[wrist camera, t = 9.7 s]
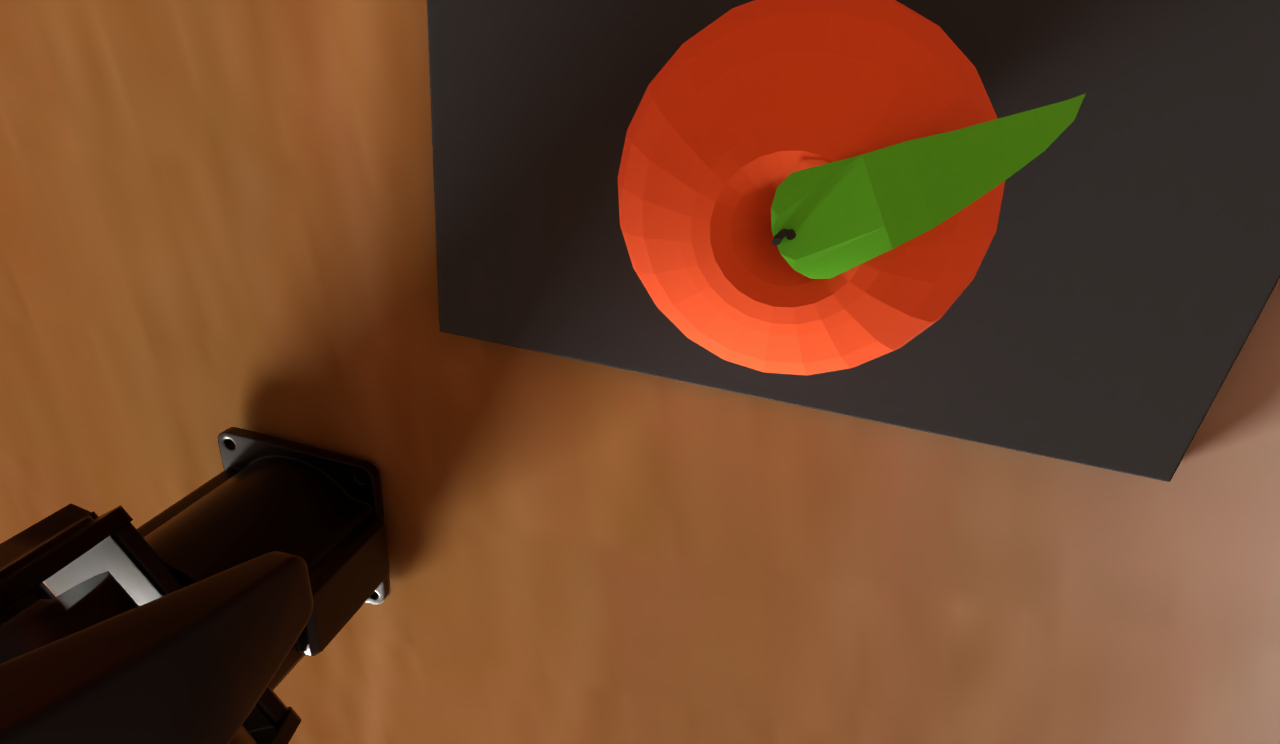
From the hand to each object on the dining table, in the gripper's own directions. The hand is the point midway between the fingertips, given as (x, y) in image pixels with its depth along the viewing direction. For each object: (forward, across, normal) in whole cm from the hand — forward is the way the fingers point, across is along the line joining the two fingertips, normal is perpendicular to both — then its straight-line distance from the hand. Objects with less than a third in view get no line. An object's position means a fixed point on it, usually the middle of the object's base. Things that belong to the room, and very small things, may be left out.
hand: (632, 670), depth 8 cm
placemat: (+12, -1, -5) cm, 13 cm away
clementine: (+11, -1, -5) cm, 12 cm away
